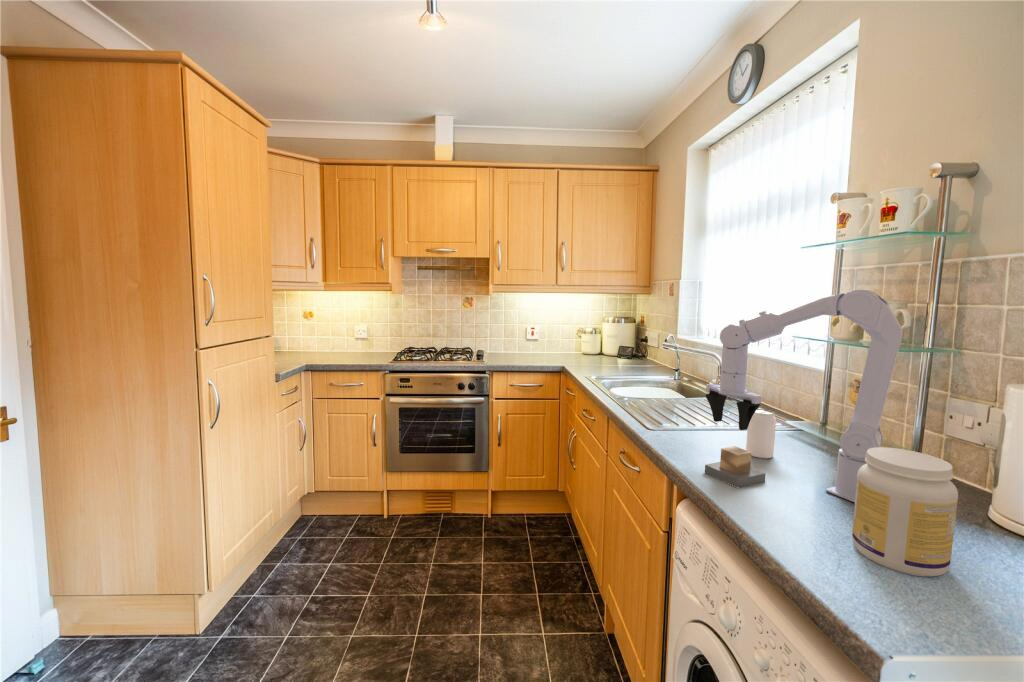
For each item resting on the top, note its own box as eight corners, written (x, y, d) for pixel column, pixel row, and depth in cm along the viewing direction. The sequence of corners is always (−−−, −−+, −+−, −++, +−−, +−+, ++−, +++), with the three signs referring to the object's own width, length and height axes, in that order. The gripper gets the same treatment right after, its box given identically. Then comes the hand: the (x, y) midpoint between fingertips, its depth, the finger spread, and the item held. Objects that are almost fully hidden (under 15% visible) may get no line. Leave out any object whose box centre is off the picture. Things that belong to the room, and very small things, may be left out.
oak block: (750, 471, 102) (751, 452, 101) (736, 474, 100) (737, 455, 99) (733, 464, 106) (734, 446, 105) (720, 466, 104) (721, 448, 103)
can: (766, 451, 121) (769, 408, 119) (778, 459, 114) (781, 415, 113) (741, 449, 121) (744, 407, 120) (752, 458, 115) (755, 414, 114)
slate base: (764, 481, 101) (765, 473, 100) (737, 488, 97) (737, 479, 97) (731, 467, 109) (732, 459, 109) (704, 472, 105) (705, 464, 105)
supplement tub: (946, 555, 73) (958, 457, 71) (952, 592, 63) (966, 480, 62) (853, 528, 81) (862, 440, 79) (847, 557, 72) (856, 458, 70)
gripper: (698, 368, 114) (695, 419, 116) (747, 378, 101) (743, 435, 102) (718, 367, 117) (715, 416, 118) (768, 376, 104) (764, 432, 105)
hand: (730, 425), depth 111 cm, fingers open, 7 cm apart
